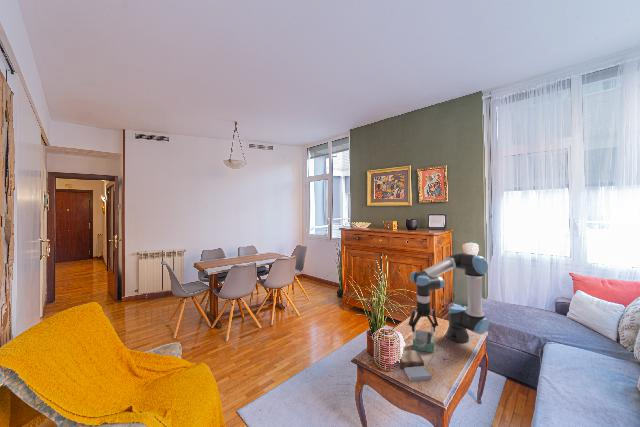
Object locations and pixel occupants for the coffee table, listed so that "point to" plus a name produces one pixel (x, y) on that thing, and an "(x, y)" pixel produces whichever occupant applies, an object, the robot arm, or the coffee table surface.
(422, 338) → the ceramic mug
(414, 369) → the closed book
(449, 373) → the coffee table surface
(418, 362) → the walnut riser
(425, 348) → the box
